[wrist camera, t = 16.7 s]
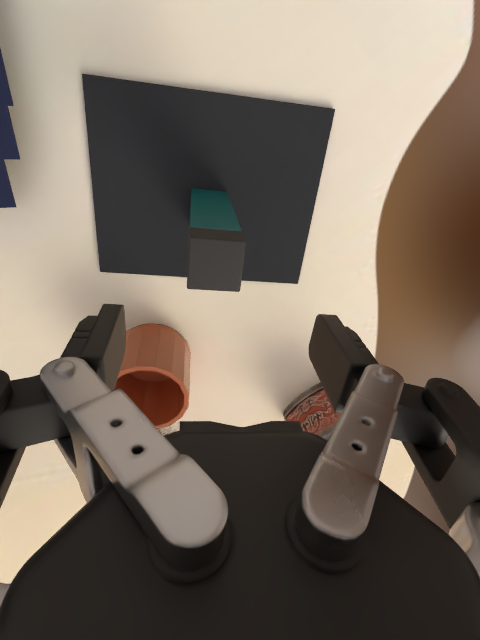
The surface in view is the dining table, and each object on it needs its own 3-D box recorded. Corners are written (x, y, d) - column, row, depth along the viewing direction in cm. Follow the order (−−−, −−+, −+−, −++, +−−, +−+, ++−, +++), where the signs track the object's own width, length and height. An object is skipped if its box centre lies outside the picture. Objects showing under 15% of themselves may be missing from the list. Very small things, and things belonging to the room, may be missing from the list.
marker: (189, 223, 33) (186, 289, 21) (191, 188, 31) (189, 236, 19) (224, 226, 33) (239, 292, 22) (227, 191, 32) (246, 241, 20)
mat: (100, 270, 35) (100, 272, 34) (83, 74, 27) (81, 73, 26) (296, 282, 38) (297, 284, 37) (333, 109, 30) (335, 109, 29)
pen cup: (118, 381, 42) (105, 430, 36) (114, 322, 38) (97, 365, 31) (188, 382, 43) (187, 430, 37) (191, 325, 39) (190, 367, 33)
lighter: (293, 423, 49) (314, 490, 40) (277, 412, 47) (295, 479, 39) (339, 389, 47) (372, 452, 38) (324, 376, 45) (354, 439, 37)
